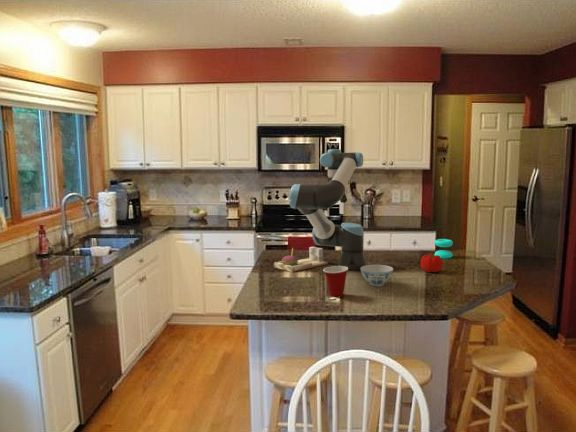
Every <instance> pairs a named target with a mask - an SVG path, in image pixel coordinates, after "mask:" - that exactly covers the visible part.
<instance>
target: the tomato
mask: <svg viewBox="0 0 576 432" xmlns="http://www.w3.org/2000/svg"><path fill="white" fill-rule="evenodd" d="M419 264H420V268H421V269H422V270H423V271H424V272H427V273H437V272H440V271H441V270H442V268H443V264H444V263H443V260H442V258H440V256H438V255H436V256H435V255H434V254H432V253H430V254H424V255H423V256H422V257H421V258H420V263H419Z"/></svg>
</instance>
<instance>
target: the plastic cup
mask: <svg viewBox="0 0 576 432" xmlns="http://www.w3.org/2000/svg"><path fill="white" fill-rule="evenodd" d="M348 270H349V269H348V267H346V266H338V265H332V266H328V267H324V268H323V270H322V271H323V272H324V275H325V278H326V285H327V289H328V294H329V296H330V297H333V298H334V297H338V298H339V297H342V296H343V295H344V290H345V285H346V279H347V275H348V274H347V273H348Z"/></svg>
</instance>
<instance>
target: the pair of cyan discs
mask: <svg viewBox="0 0 576 432" xmlns="http://www.w3.org/2000/svg"><path fill="white" fill-rule="evenodd" d="M434 244H435V246H437V247H440V248H450V247H452V246H453V244H454V242H453V240H452V239H447V238H438V239H436V240H434ZM433 255H434V256H436V255H438V256H440V258H441V260H442V259H444V260H445V259H447V260H448V259H451V258H452V257H453V256H454V255H453V253H452V251H449V250H445V249H444V250H443V249H442V250H441V249H439V250H436V251H435V253H434V254H433Z"/></svg>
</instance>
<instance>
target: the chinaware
mask: <svg viewBox="0 0 576 432" xmlns="http://www.w3.org/2000/svg"><path fill="white" fill-rule="evenodd" d="M393 272H394V268H393V267H392V266H389V265H385V264H367V265H365V266H362V267H361V269H360V273H361V275H362V278H363V279H364V280H365V281H366V282H367V283H368V284H369V285H370V286H371V287H383V286H384V285H385V283H387V282H388V281H390V279H391V278H392V275H393Z"/></svg>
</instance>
